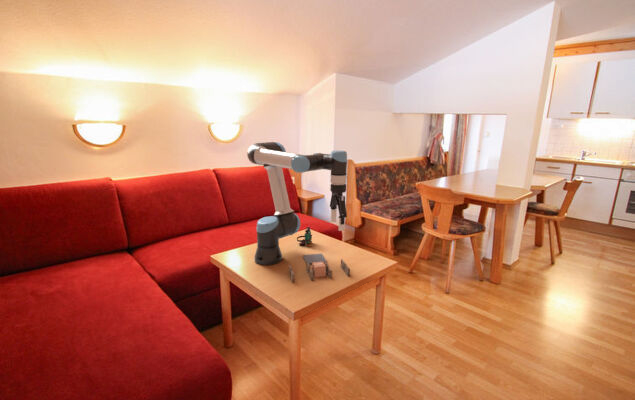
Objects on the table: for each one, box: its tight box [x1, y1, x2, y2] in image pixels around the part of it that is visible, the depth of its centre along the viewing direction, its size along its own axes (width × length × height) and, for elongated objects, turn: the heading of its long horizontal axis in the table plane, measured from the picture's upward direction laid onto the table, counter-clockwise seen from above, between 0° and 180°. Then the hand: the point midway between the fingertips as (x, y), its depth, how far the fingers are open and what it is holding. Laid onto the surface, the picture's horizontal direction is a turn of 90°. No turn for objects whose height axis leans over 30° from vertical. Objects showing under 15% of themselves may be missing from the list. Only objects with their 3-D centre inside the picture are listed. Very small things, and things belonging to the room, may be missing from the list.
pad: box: [302, 253, 328, 266], centre depth 177 cm, size 11×11×1 cm
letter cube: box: [311, 262, 327, 278], centre depth 160 cm, size 6×6×6 cm
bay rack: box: [288, 259, 351, 284], centre depth 160 cm, size 12×29×4 cm, turn 104°
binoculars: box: [296, 226, 313, 247], centre depth 198 cm, size 9×11×10 cm
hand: (337, 226), depth 157 cm, fingers open, 13 cm apart
